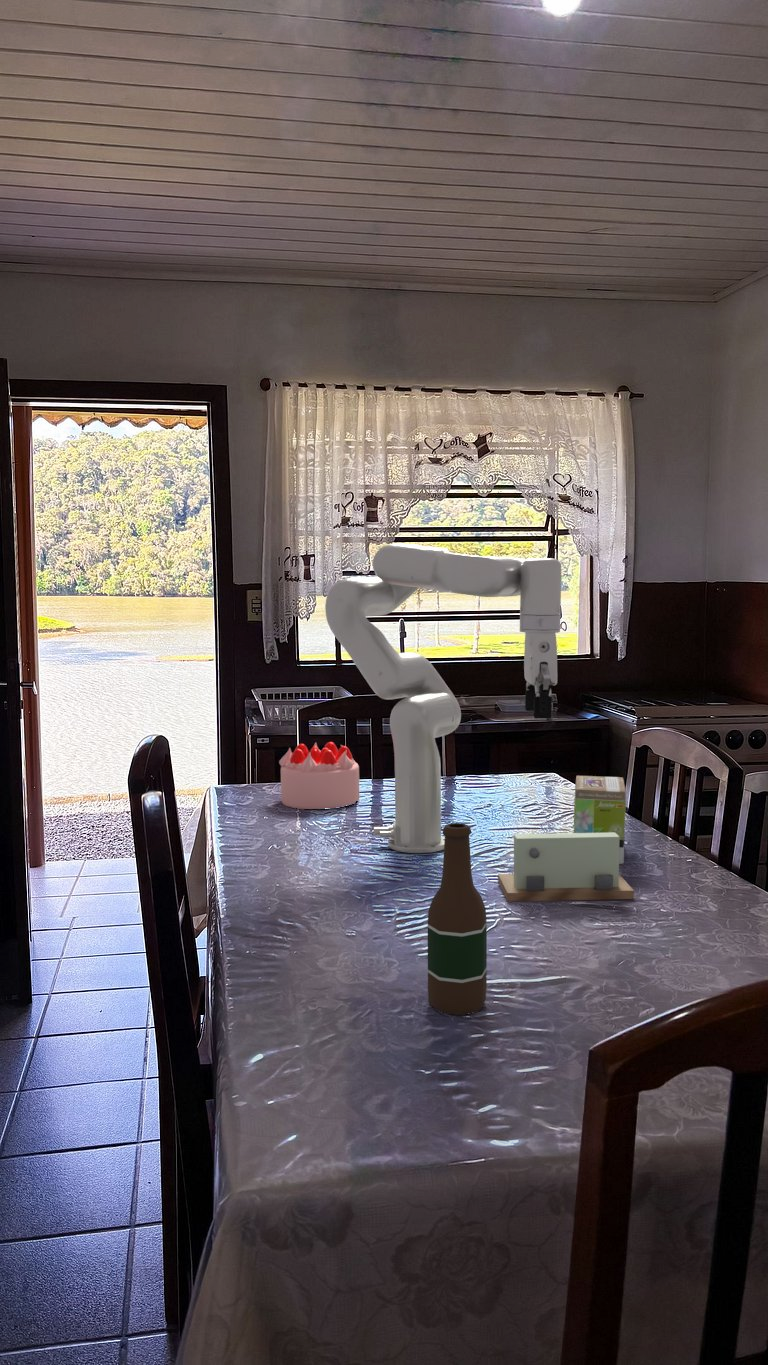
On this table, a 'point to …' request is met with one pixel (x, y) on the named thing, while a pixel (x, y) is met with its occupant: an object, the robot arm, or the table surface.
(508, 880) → the cabinet side
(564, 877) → the door
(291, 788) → the cake
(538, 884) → the hinge clips
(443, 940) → the beer bottle
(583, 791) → the tea box
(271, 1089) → the table surface
